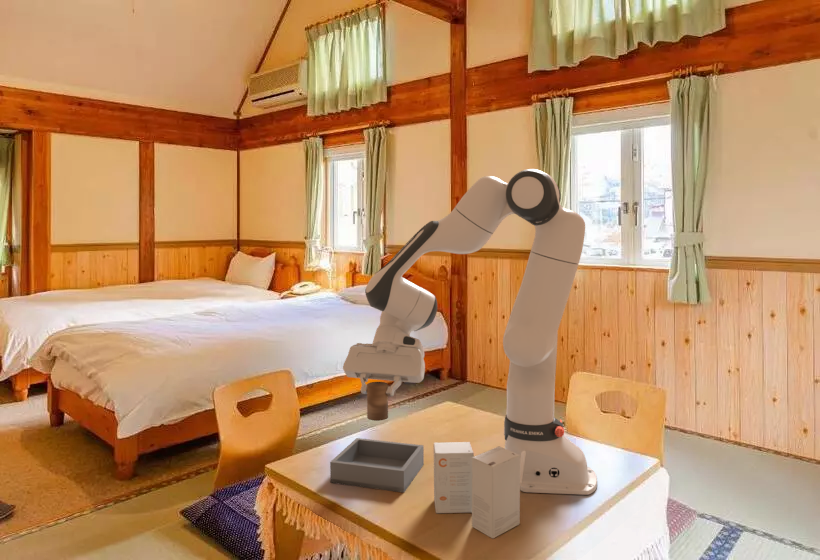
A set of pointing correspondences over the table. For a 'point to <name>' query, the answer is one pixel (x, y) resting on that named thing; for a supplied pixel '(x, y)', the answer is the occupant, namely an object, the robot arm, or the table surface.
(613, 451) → the table surface
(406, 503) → the table surface
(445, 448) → the small box
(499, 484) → the skincare box
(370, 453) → the tote
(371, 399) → the walnut cylinder
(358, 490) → the table surface
